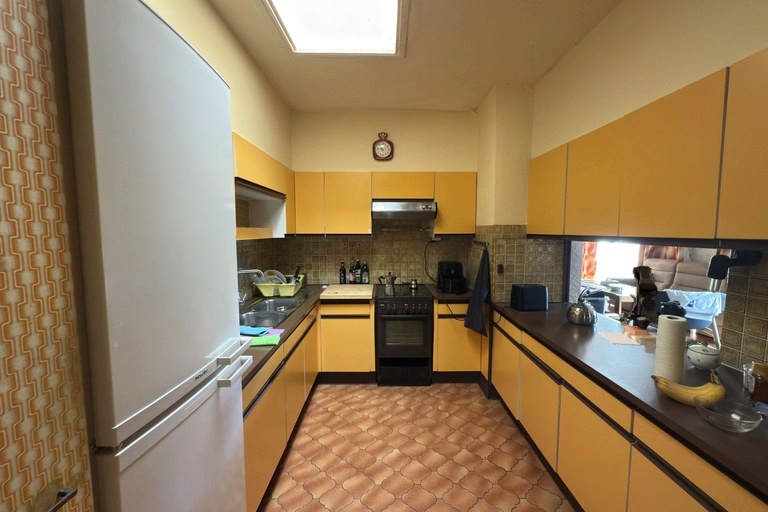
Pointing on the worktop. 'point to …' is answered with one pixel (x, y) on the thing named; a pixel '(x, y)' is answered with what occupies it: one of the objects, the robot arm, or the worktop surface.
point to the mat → (618, 338)
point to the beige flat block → (647, 346)
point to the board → (646, 338)
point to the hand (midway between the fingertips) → (643, 331)
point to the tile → (636, 330)
